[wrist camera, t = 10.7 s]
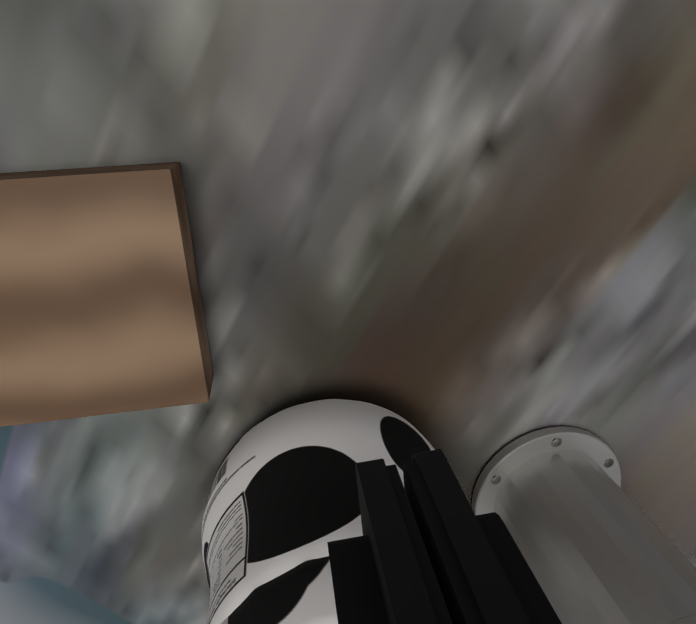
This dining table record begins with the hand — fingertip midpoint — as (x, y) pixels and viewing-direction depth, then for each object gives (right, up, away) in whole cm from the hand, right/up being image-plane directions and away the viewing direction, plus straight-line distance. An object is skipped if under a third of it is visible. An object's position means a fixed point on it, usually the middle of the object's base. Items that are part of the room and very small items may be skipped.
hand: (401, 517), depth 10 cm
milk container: (-3, -9, +31) cm, 32 cm away
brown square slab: (-17, +6, +22) cm, 29 cm away
